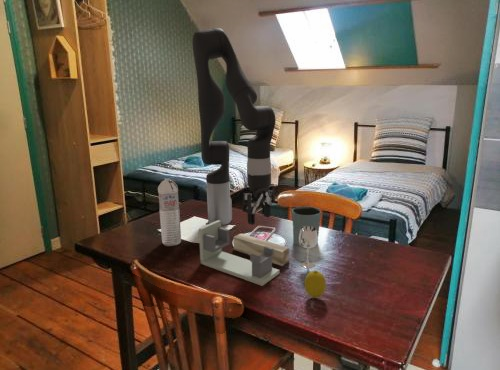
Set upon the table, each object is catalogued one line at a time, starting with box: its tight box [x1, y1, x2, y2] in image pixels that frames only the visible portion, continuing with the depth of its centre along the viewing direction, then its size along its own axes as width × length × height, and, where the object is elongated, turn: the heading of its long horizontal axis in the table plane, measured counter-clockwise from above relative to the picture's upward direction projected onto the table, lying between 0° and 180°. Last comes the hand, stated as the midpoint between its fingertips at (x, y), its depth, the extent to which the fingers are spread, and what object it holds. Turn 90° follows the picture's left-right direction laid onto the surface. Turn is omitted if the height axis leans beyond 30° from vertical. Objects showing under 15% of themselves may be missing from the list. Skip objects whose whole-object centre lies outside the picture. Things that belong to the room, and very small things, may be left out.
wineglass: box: [299, 226, 319, 269], centre depth 122 cm, size 6×6×12 cm
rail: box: [233, 233, 290, 267], centre depth 130 cm, size 4×20×5 cm, turn 51°
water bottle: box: [157, 174, 182, 247], centre depth 138 cm, size 7×7×25 cm
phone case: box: [247, 225, 276, 241], centre depth 147 cm, size 7×1×15 cm
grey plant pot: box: [291, 205, 322, 248], centre depth 139 cm, size 10×10×12 cm
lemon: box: [304, 270, 327, 299], centre depth 104 cm, size 6×6×8 cm
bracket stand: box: [198, 220, 280, 287], centre depth 120 cm, size 9×24×12 cm, turn 53°
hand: (259, 220), depth 127 cm, fingers open, 8 cm apart
